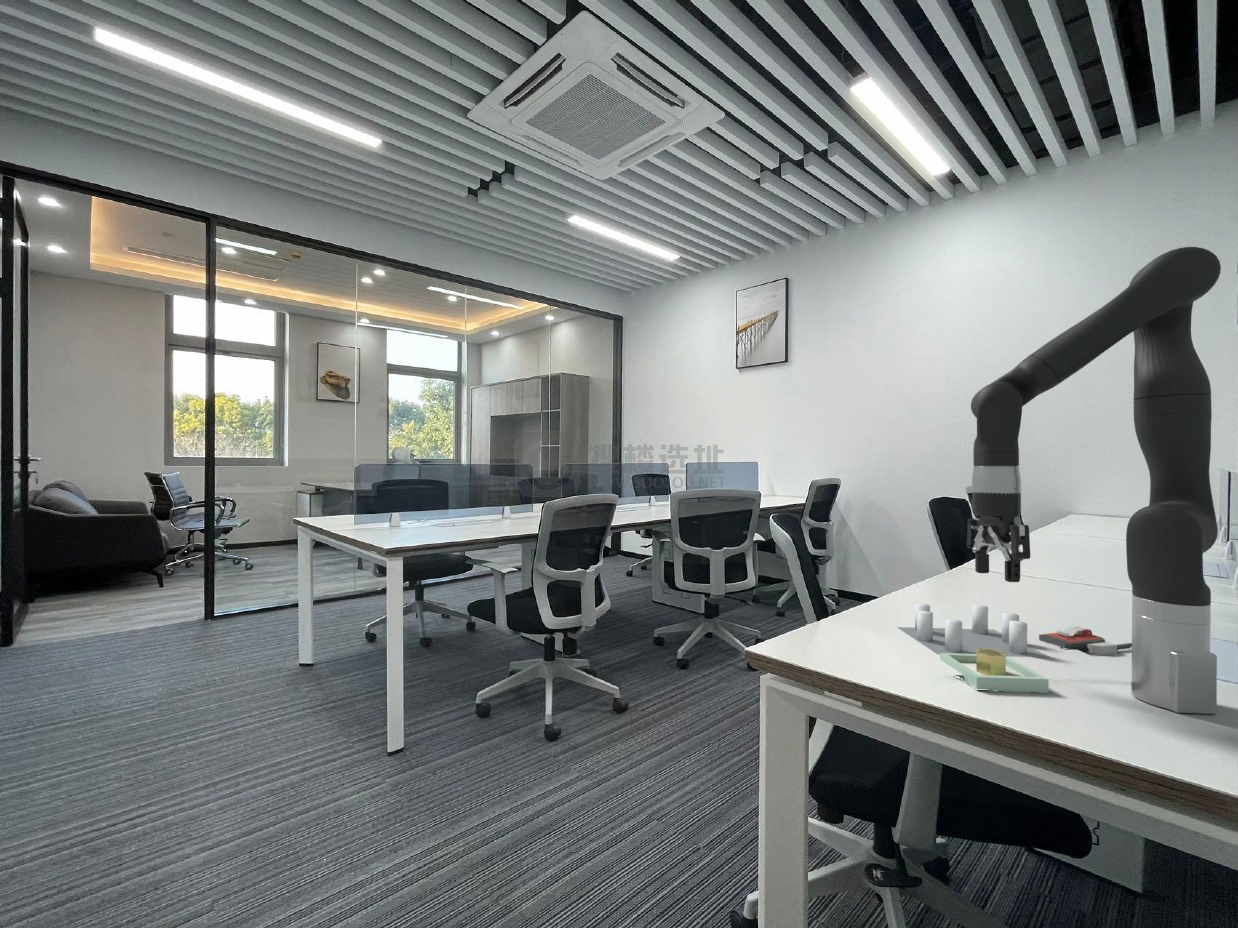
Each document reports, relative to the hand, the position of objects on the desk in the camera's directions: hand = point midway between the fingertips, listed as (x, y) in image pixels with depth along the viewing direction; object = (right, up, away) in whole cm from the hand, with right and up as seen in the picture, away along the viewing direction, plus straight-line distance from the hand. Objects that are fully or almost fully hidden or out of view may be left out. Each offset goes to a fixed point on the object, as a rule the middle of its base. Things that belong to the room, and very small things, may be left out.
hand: (996, 577), depth 100 cm
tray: (-2, -19, -1) cm, 19 cm away
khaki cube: (-2, -18, -1) cm, 18 cm away
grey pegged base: (+5, -19, +17) cm, 26 cm away
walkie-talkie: (+31, -20, +17) cm, 40 cm away
